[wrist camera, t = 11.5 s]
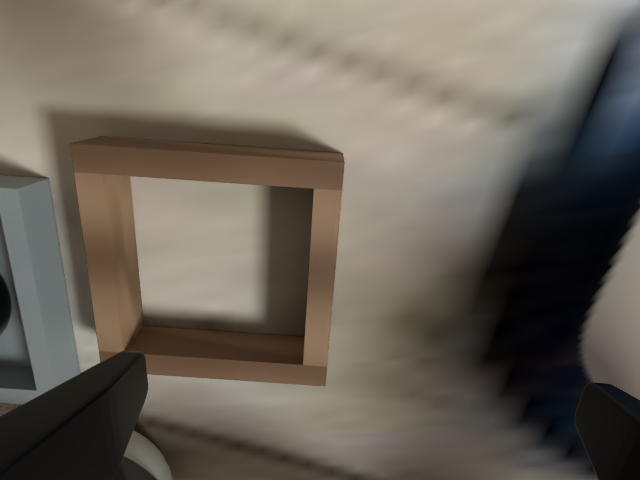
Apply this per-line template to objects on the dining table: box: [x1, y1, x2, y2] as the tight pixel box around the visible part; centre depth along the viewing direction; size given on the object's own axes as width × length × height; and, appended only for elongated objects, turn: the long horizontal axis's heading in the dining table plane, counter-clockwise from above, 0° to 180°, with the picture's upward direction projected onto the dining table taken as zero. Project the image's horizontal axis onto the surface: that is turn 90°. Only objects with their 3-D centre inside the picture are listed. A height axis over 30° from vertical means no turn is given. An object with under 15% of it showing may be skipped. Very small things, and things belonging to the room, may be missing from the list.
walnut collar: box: [70, 136, 344, 386], centre depth 21 cm, size 11×11×2 cm
